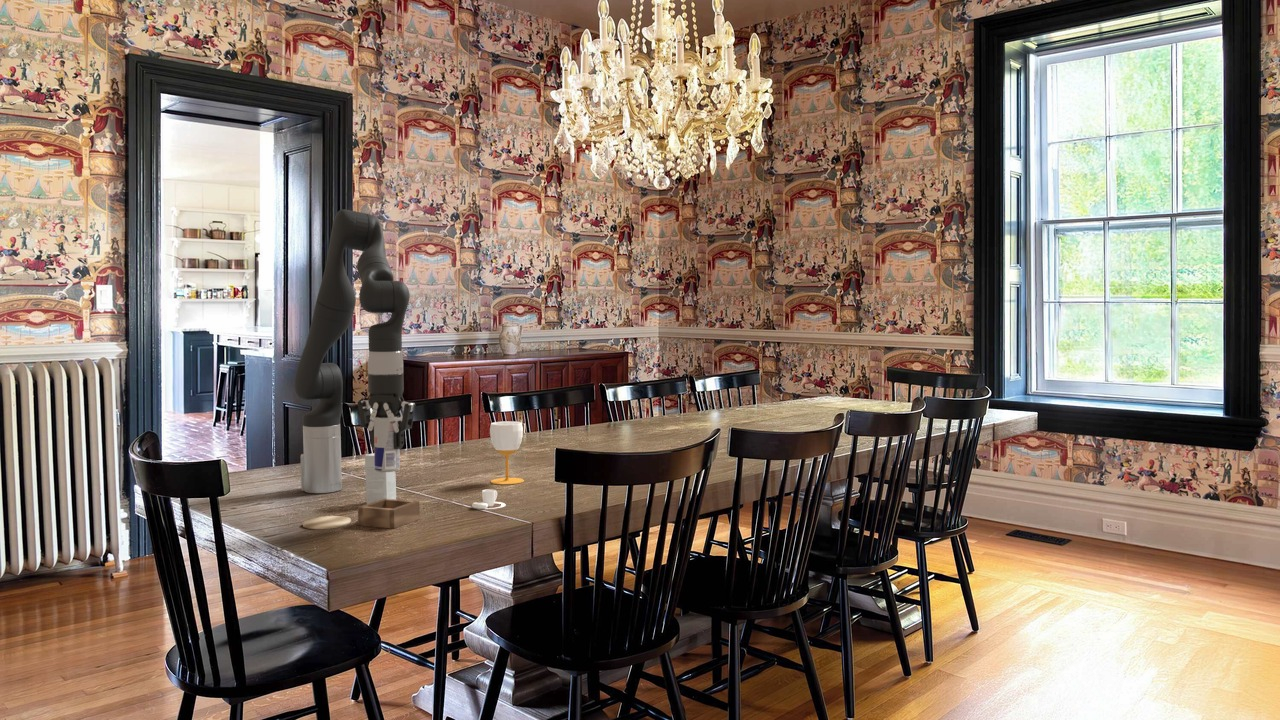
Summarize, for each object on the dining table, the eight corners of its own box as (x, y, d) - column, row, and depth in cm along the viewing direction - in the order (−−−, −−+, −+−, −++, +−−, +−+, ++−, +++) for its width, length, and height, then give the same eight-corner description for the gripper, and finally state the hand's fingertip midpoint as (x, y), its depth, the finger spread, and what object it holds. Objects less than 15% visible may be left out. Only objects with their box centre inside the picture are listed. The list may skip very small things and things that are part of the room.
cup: (506, 477, 254) (506, 420, 253) (530, 480, 249) (530, 422, 248) (483, 482, 247) (482, 423, 246) (507, 486, 241) (506, 426, 240)
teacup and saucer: (477, 513, 212) (476, 495, 212) (463, 506, 218) (463, 490, 218) (511, 508, 217) (511, 491, 216) (497, 502, 223) (497, 486, 223)
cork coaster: (292, 527, 197) (292, 524, 197) (324, 517, 207) (324, 514, 207) (330, 530, 194) (330, 528, 194) (360, 520, 203) (360, 517, 203)
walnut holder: (358, 525, 199) (357, 507, 199) (384, 515, 208) (384, 498, 207) (394, 528, 196) (394, 510, 195) (419, 518, 204) (419, 501, 204)
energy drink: (377, 468, 203) (376, 415, 203) (401, 467, 204) (400, 414, 203) (372, 472, 198) (371, 418, 197) (397, 472, 199) (396, 417, 198)
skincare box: (397, 502, 222) (395, 453, 222) (386, 505, 218) (385, 456, 218) (375, 500, 224) (374, 452, 224) (365, 504, 220) (364, 455, 220)
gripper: (347, 372, 199) (349, 448, 200) (403, 374, 194) (404, 452, 195) (369, 369, 206) (370, 443, 207) (423, 371, 201) (424, 447, 202)
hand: (387, 447), depth 201 cm, fingers closed on energy drink, 5 cm apart
